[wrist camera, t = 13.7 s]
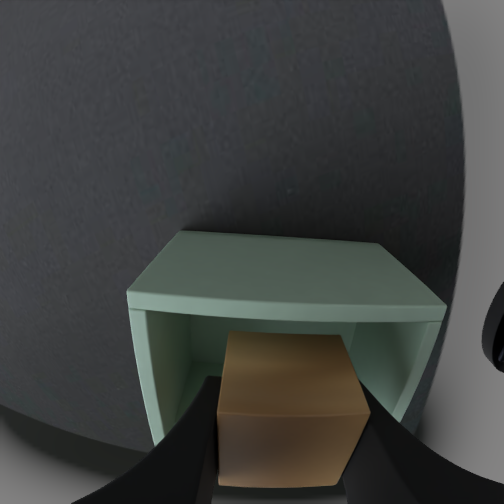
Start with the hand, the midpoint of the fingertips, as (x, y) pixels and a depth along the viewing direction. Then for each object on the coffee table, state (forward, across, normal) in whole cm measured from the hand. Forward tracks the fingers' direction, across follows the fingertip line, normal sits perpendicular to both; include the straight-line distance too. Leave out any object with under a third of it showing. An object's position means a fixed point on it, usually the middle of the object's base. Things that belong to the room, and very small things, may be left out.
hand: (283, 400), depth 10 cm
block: (+1, 0, 0) cm, 1 cm away
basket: (+7, 0, +1) cm, 7 cm away
